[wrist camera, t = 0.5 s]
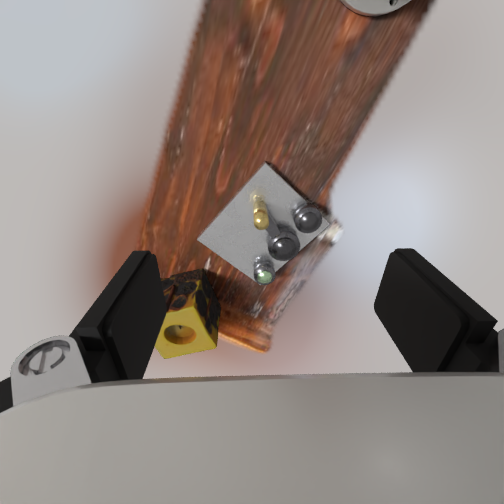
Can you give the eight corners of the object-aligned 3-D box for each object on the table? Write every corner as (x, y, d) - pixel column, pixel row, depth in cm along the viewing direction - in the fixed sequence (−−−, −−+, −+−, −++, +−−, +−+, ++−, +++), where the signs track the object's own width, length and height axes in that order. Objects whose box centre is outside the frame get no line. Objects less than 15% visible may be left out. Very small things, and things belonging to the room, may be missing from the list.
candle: (152, 279, 47) (131, 319, 39) (203, 266, 46) (193, 304, 38) (175, 317, 53) (161, 360, 44) (222, 307, 51) (217, 349, 43)
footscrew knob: (303, 245, 42) (311, 264, 37) (277, 259, 44) (280, 280, 39) (270, 192, 38) (274, 207, 33) (242, 210, 39) (241, 227, 34)
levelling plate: (267, 158, 37) (269, 164, 33) (329, 218, 42) (337, 229, 38) (198, 235, 43) (194, 247, 39) (260, 280, 48) (261, 294, 44)
